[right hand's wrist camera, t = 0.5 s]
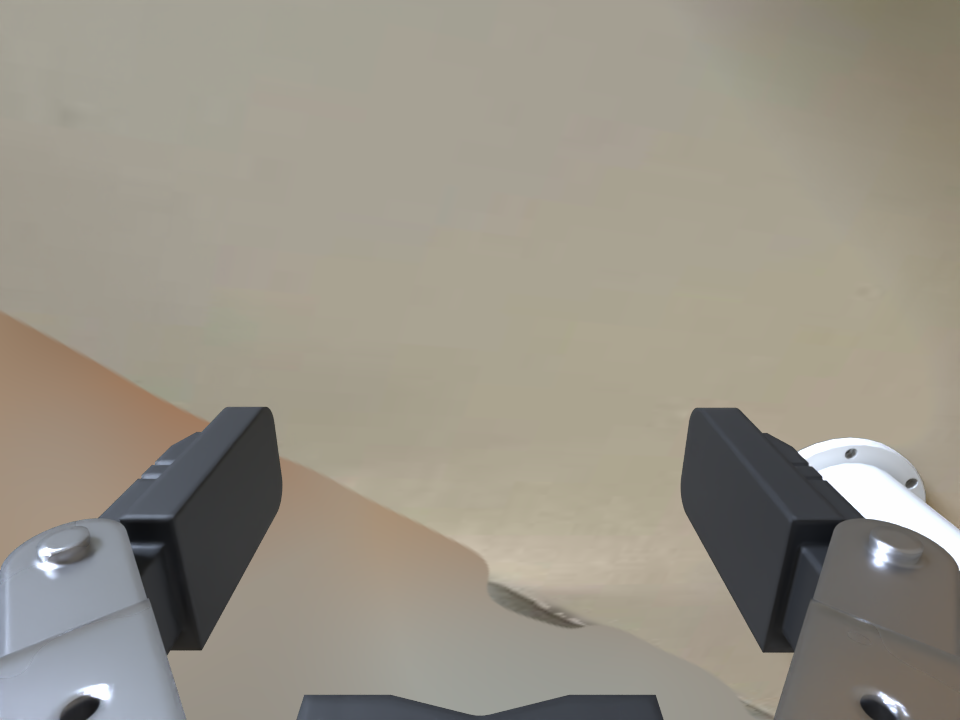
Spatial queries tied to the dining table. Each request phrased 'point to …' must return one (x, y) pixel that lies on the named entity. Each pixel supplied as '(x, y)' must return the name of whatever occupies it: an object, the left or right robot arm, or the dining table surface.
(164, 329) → the dining table surface
